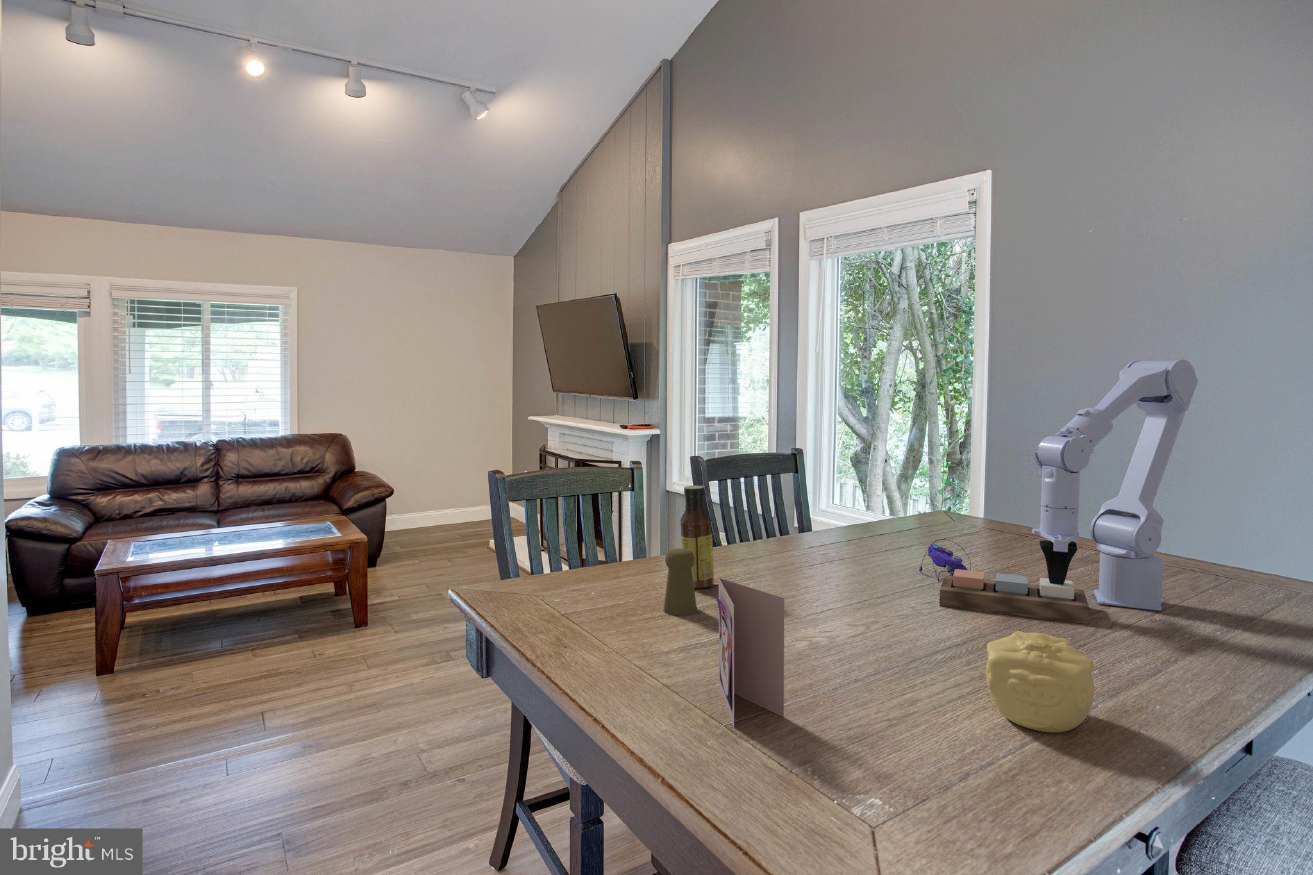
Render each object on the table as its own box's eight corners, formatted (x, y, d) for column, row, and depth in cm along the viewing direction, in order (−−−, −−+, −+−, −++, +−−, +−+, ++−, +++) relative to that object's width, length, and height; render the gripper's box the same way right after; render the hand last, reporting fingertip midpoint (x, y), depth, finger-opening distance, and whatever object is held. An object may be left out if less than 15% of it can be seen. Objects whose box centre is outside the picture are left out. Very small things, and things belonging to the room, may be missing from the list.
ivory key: (1071, 599, 127) (1072, 580, 127) (1073, 608, 123) (1074, 588, 122) (1039, 596, 129) (1039, 577, 129) (1040, 604, 125) (1040, 585, 125)
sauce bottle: (714, 581, 147) (713, 484, 145) (713, 590, 141) (713, 489, 139) (682, 580, 147) (681, 484, 146) (680, 589, 141) (679, 489, 139)
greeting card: (712, 686, 98) (712, 578, 96) (767, 684, 98) (767, 576, 97) (726, 727, 86) (726, 605, 85) (788, 725, 87) (788, 603, 86)
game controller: (987, 561, 146) (951, 556, 142) (970, 595, 148) (934, 592, 144) (953, 536, 155) (918, 531, 150) (938, 569, 157) (903, 565, 153)
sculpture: (977, 727, 86) (979, 639, 85) (994, 690, 96) (996, 610, 95) (1089, 754, 80) (1093, 659, 79) (1095, 711, 89) (1099, 626, 88)
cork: (694, 616, 126) (694, 554, 125) (660, 614, 127) (659, 553, 126) (699, 605, 132) (699, 546, 131) (666, 603, 133) (666, 544, 132)
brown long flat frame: (1082, 606, 129) (1083, 589, 128) (1088, 624, 120) (1088, 606, 119) (944, 590, 139) (944, 575, 138) (939, 605, 130) (939, 589, 129)
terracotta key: (983, 590, 133) (984, 572, 133) (982, 597, 129) (983, 579, 128) (954, 586, 135) (955, 569, 135) (952, 594, 131) (953, 575, 131)
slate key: (1026, 594, 130) (1027, 576, 130) (1027, 602, 126) (1027, 583, 125) (995, 591, 132) (996, 573, 132) (995, 599, 128) (995, 580, 128)
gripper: (1032, 497, 133) (1029, 570, 134) (1034, 511, 120) (1031, 591, 121) (1076, 500, 130) (1073, 574, 131) (1083, 515, 117) (1080, 597, 118)
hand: (1056, 583), depth 126 cm, fingers closed, pressing on ivory key
